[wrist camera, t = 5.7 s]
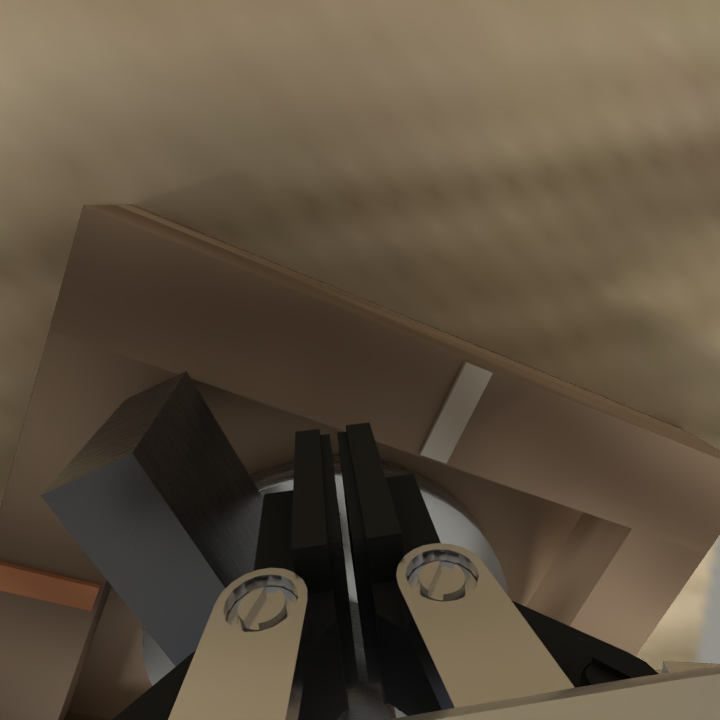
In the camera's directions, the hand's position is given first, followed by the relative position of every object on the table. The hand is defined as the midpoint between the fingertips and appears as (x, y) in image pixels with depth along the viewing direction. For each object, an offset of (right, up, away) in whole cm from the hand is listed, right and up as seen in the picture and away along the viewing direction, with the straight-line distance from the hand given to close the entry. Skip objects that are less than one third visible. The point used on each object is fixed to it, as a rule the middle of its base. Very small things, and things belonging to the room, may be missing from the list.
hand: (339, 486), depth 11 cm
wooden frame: (-1, -5, +7) cm, 9 cm away
